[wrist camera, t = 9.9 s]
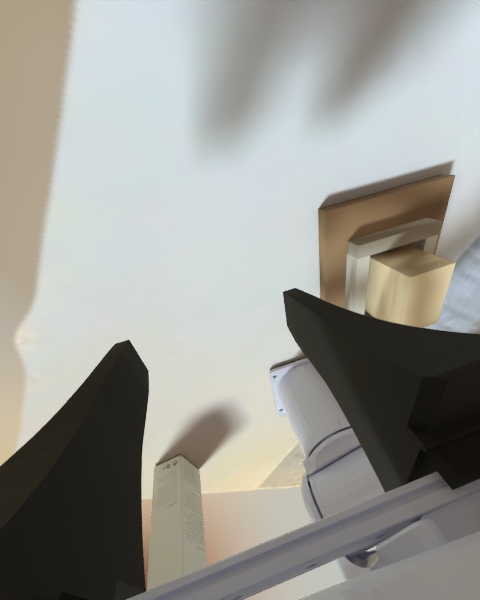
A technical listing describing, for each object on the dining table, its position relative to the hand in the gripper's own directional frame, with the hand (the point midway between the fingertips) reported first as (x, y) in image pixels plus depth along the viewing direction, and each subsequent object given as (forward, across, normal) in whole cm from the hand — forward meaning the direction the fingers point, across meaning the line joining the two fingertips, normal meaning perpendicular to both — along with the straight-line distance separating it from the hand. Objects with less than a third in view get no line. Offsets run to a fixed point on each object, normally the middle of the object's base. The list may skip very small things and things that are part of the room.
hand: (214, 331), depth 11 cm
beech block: (+9, -17, +7) cm, 21 cm away
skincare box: (+11, +12, +30) cm, 34 cm away
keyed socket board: (+10, -17, +7) cm, 21 cm away
